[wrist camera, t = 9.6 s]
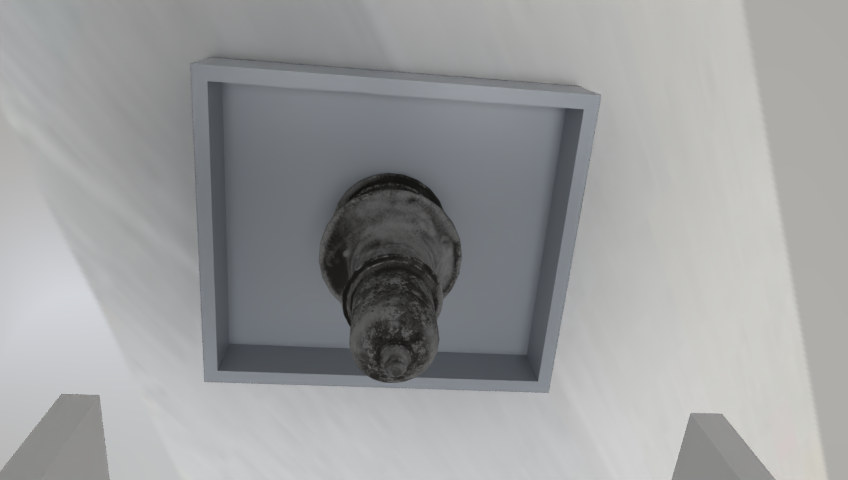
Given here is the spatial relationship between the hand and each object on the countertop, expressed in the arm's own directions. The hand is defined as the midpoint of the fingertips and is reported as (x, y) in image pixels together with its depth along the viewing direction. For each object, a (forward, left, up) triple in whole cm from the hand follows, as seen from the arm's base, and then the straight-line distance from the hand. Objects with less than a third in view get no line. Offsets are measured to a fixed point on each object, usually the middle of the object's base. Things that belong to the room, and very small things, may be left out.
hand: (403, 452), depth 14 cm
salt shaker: (0, 0, -16) cm, 16 cm away
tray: (0, 0, -17) cm, 17 cm away
